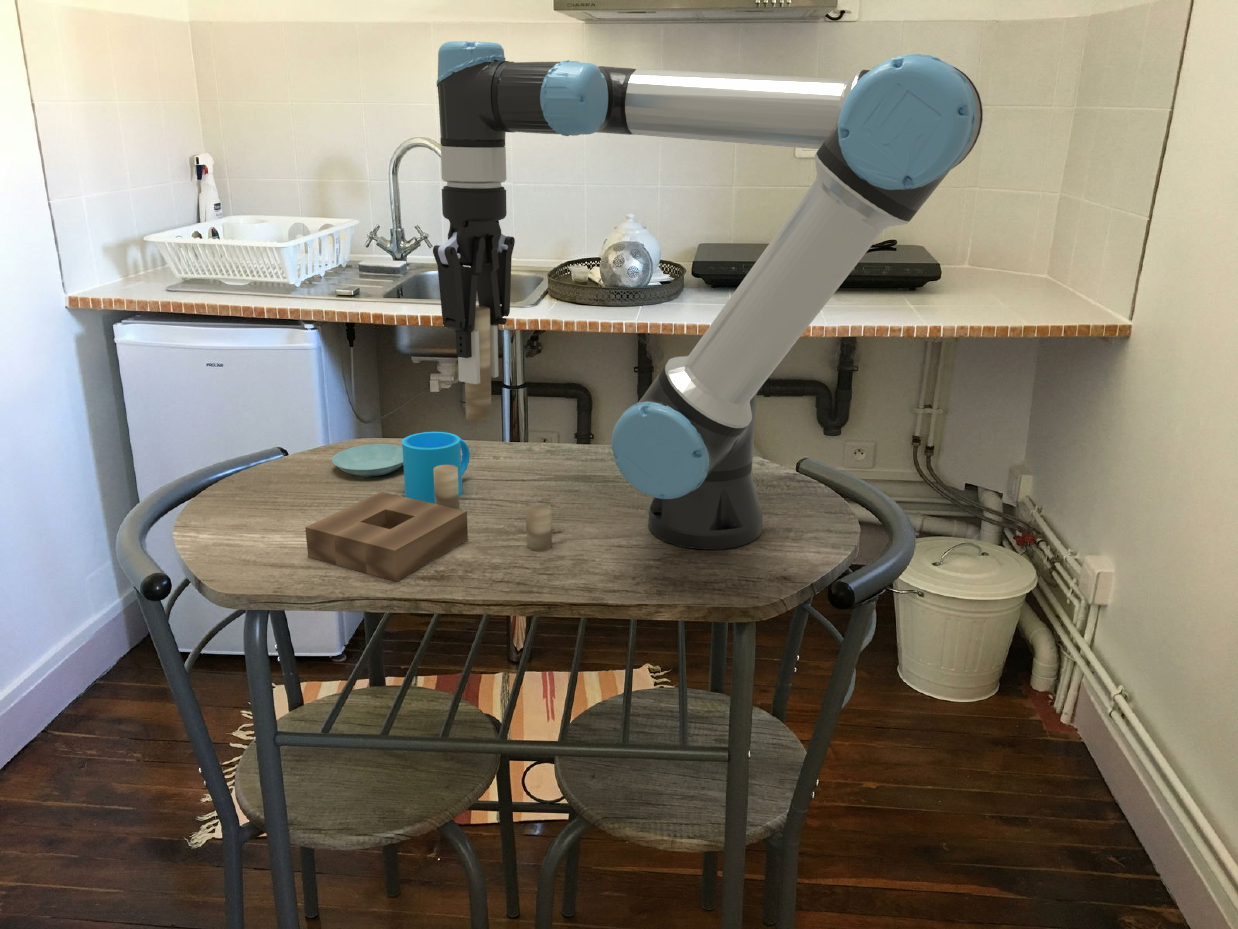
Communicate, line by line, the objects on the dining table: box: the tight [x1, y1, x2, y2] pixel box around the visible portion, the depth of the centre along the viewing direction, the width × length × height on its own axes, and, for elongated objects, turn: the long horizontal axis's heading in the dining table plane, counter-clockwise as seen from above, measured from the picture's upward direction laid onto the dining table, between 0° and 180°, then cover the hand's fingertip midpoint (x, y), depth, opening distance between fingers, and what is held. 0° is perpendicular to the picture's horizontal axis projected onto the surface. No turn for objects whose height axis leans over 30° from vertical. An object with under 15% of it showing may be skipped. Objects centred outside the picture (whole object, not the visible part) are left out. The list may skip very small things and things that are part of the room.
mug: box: [401, 431, 471, 504], centre depth 146 cm, size 12×8×8 cm
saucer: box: [331, 443, 404, 478], centre depth 155 cm, size 12×12×2 cm
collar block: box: [304, 491, 469, 582], centre depth 127 cm, size 14×14×4 cm
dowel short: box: [525, 504, 553, 552], centre depth 128 cm, size 3×3×5 cm
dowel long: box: [464, 305, 492, 423], centre depth 126 cm, size 3×3×14 cm
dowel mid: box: [433, 465, 460, 510], centre depth 136 cm, size 3×3×7 cm
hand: (478, 378), depth 126 cm, fingers closed on dowel long, 3 cm apart
